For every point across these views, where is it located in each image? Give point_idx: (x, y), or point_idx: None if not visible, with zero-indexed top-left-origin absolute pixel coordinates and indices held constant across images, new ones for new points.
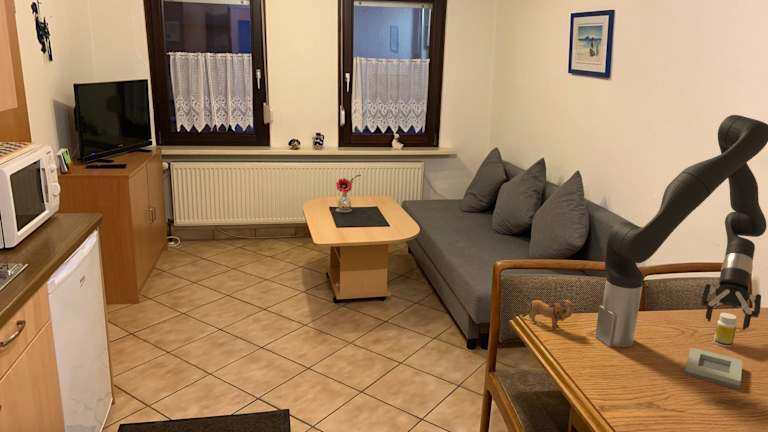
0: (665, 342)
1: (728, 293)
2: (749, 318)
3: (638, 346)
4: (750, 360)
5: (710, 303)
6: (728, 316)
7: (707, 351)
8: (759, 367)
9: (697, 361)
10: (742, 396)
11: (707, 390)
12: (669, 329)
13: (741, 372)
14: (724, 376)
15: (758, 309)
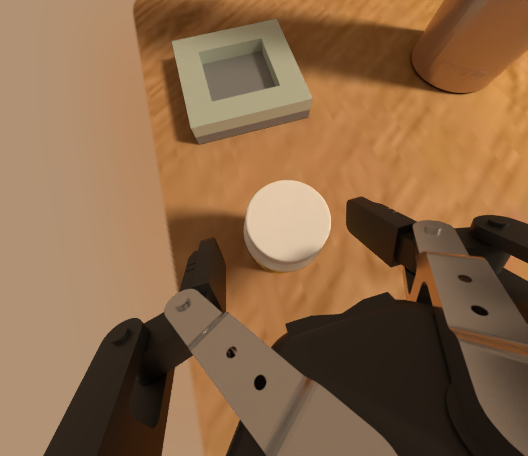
0: (378, 133)
1: (469, 377)
2: (187, 282)
3: (400, 73)
4: (189, 200)
5: (438, 226)
6: (283, 208)
7: (273, 107)
8: (164, 180)
9: (269, 50)
10: (170, 48)
11: (224, 26)
12: (423, 214)
13: (178, 71)
14: (203, 36)
15: (100, 368)
